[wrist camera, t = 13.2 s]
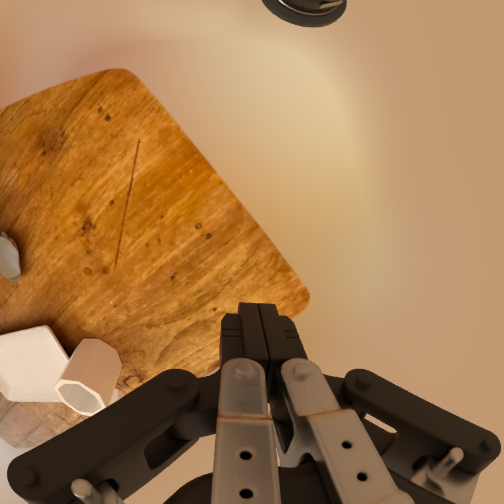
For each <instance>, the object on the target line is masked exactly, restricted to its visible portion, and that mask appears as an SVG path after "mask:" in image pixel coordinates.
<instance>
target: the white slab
mask: <svg viewBox="0 0 504 504" xmlns="http://www.w3.org/2000/svg"><path fill="white" fill-rule="evenodd" d="M69 359H70V358H69V357H68V355H67V354H66V352H65V351H64V349H63V348H62V346H61V344H60V343H59V341H58V340H57V338H56V336H55V335H54V333H53V331H52V330H51V329H50V328H49V326H47V325H43V326H38V327H33V328H29V329H25V330H20V331H16V332H12V333H7V334H2V335H0V392H1V393H2V394H3V395H4V396H5V397H6V398H7V399H8V400H9V401H22V402H62V400H61V399H60V397H59V395H58V393H57V392H56V390H55V388H54V386H55V385H56V383H57V381H58V379H59V377H60V375H61V373H62V372H63V370H64V368H65V366H66V364H67V363H68V361H69Z"/></svg>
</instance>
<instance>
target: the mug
mask: <svg viewBox="0 0 504 504" xmlns="http://www.w3.org/2000/svg"><path fill="white" fill-rule="evenodd" d="M121 369H122V364H121V361H120V358H119V355H118V352H117V350H116V349H114V348H113V347H111V346H109V345H108V344H106V343H105V342H103V341H102V340H100V339H83V340H82V341H81V342H80V344H79V345H78V346H77V347H76V349H75V350H74V352H73V354H72V356H71V357H70V359H69V361H68V363H67V364H66V366H65V368H64V370H63V372H62V373H61V375H60V377H59V379H58V381H57V383H56V385H55V386H54V388H55V390H56V392H57V393H58V395H59V397H60V399H61V400H62V402H64V403H65V404H66V405H68V406H69V407H71V408H72V409H73V410H75V411H76V412H78V413H79V414H82V415H87V416H92V415H94V414H96V413H97V412H99V411H101V410H102V409H104V408H106V407H107V406H109V403H110V405H111V404H112V403H114V402H116V401H117V400H119V399H121V398H122V391H121V390H119V389H115V386H116V383H117V380H118V377H119V374H120V371H121Z"/></svg>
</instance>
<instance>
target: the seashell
mask: <svg viewBox="0 0 504 504" xmlns="http://www.w3.org/2000/svg"><path fill="white" fill-rule="evenodd" d="M0 273H1V274H2V275H3V276H4V277H5V278H7V279H8V280H10V281H18V280H19V279H20V277H21V267H20V259H19V252H18V248H17V245H16V243H15V241H14V240H13V239H11V238H9V237H8V236H7V235H6V233H5V232H4V231H3V232H2V233H1V235H0Z"/></svg>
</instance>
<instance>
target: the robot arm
mask: <svg viewBox="0 0 504 504" xmlns="http://www.w3.org/2000/svg"><path fill="white" fill-rule="evenodd" d="M276 1H277V2H278V3H279V4H280V5H282V6H283V7H284V8H286V9H288V10H289V11H292V12H294V13H296V14H300V15H304V16H310V17H318V16H324V15H327V14H329V13H331V12H332V11H333V10H334V9H335V8H336V7H337V6H338V5H340V4H341V3H342V2H343V1H342V0H276ZM219 353H220V369H219V370H218V371H217V372H216V373H214V374H212V375H210V376H206V377H201V378H197V377H196V376H195V375H194V374H192V373H191V372H189V371H186V370H182V369H170V370H166V371H163V372H162V373H160V374H158V375H157V376H155V377H154V378H152V379H151V380H149V381H148V382H146V383H144V384H143V385H141V386H140V387H138V388H137V389H135V390H133V391H132V392H130V393H129V394H127V395H125V396H124V397H122V398H121V399H119V400H117V401H116V402H114V403H112V404H111V405H109V406H107V407H106V408H104V409H102V410H101V411H99V412H97V413H96V414H94V415H92V416H91V417H89V418H87V419H86V420H84V421H82V422H80V423H79V424H77V425H75V426H73V427H72V428H70V429H68V430H66V431H65V432H63V433H61V434H59V435H57V436H56V437H54V438H52V439H50V440H48V441H47V442H45V443H43V444H41V445H39V446H37V447H35V448H34V449H32V450H30V451H28V452H26V453H24V454H22V455H20V456H18V457H16V458H15V459H13V460H12V461H11V463H10V464H9V466H8V470H7V478H8V482H9V484H10V486H11V488H12V489H13V491H14V492H15V493H16V494H18V495H19V496H20V497H21V498H23V499H24V500H25V501H26V502H28V503H29V504H125V503H124V502H123V500H125V499H126V498H128V497H129V496H130V495H132V494H133V493H135V492H136V491H137V490H139V489H140V488H141V487H143V486H144V485H145V484H146V483H148V482H149V481H150V480H152V479H153V478H154V477H155V476H157V475H158V474H159V473H161V472H162V471H163V470H164V469H165V468H167V467H168V466H169V465H170V464H172V463H173V462H174V461H175V460H176V459H178V457H180V456H181V455H182V454H183V453H185V452H186V451H187V450H188V449H189V448H190V447H191V446H193V445H194V444H195V443H196V442H197V441H198V440H199V438H200V437H204V436H208V435H213V434H216V440H215V452H214V467H213V472H212V473H209V474H205V475H202V476H200V477H197V478H195V479H193V480H191V481H190V482H188V483H186V484H185V485H183V486H182V487H181V488H179V489H178V490H177V491H176V492H175V493H174V494H173V495H172V496H171V497H170V498H168V499H167V500H166V501H165V502H164V503H163V504H470V501H471V499H472V496H473V493H474V490H475V487H476V484H477V481H478V478H479V475H480V473H481V472H482V471H483V470H484V469H485V468H486V467H487V466H488V465H489V464H490V463H491V462H493V461H494V460H495V459H496V458H497V457H498V456H499V454H500V452H501V444H500V441H499V439H498V437H497V436H496V435H495V434H494V433H492V432H490V431H488V430H486V429H484V428H481V427H479V426H477V425H475V424H473V423H471V422H469V421H466V420H464V419H462V418H460V417H458V416H456V415H454V414H452V413H450V412H448V411H446V410H444V409H441V408H440V407H438V406H436V405H434V404H432V403H430V402H428V401H426V400H424V399H422V398H420V397H418V396H416V395H414V394H412V393H410V392H408V391H406V390H404V389H402V388H401V387H399V386H397V385H395V384H393V383H391V382H389V381H387V380H385V379H384V378H382V377H380V376H378V375H376V374H374V373H373V372H371V371H368V370H365V369H353V370H351V371H349V372H348V373H347V374H346V376H345V378H340V377H333V376H328V375H325V374H322V372H321V370H320V368H319V367H318V366H317V365H316V364H315V363H313V362H312V361H309V360H308V358H307V355H306V353H305V350H304V348H303V345H302V343H301V340H300V339H299V335H298V332H297V330H296V327H295V324H294V322H293V321H292V320H291V319H289V318H288V317H287V316H279V315H278V311H277V308H276V305H275V304H265V303H243V302H239V305H238V314H230V313H226V315H225V316H224V317H223V319H222V320H221V333H220V348H219ZM267 403H269V404H270V413H269V416H268V406H267ZM367 413H368V414H369V415H371V416H373V417H375V418H376V419H378V420H380V421H382V422H383V423H385V424H387V425H389V426H391V427H392V428H394V429H395V430H396V431H397V432H396V433H390V432H387V431H385V430H384V429H382V428H380V427H378V426H377V425H375V424H373V423H372V422H369V421H368V420H366V419H364V418H365V416H366V414H367ZM276 448H277V451H278V454H279V458H280V467H278V464H277V453H276Z"/></svg>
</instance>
